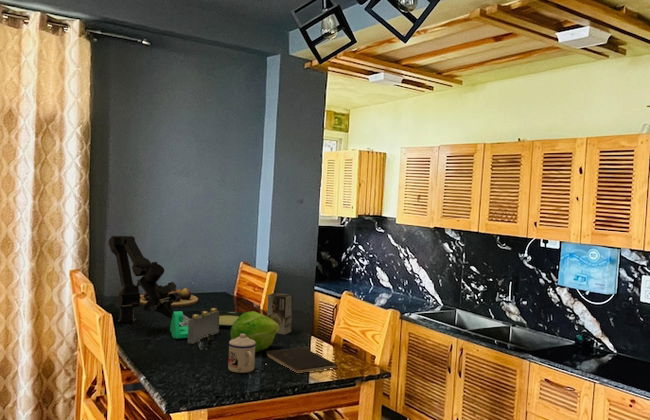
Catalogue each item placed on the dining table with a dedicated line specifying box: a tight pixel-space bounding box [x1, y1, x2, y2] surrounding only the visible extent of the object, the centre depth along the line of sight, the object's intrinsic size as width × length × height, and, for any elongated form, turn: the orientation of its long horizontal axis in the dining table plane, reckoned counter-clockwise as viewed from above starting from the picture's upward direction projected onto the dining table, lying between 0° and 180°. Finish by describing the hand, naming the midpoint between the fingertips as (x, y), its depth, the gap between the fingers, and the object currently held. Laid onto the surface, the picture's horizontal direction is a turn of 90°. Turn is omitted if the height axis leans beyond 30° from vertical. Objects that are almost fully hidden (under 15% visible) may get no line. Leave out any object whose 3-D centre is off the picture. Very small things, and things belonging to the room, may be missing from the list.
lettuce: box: [229, 310, 280, 353], centre depth 207 cm, size 15×20×14 cm
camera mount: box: [169, 310, 188, 339], centre depth 221 cm, size 12×8×10 cm, turn 26°
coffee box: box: [266, 292, 294, 335], centre depth 237 cm, size 9×6×16 cm
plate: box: [199, 310, 245, 328], centre depth 250 cm, size 28×28×2 cm
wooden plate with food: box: [139, 287, 199, 308], centre depth 289 cm, size 32×32×8 cm
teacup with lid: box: [227, 334, 256, 374], centre depth 182 cm, size 12×9×12 cm
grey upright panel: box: [187, 307, 220, 344], centre depth 221 cm, size 20×2×10 cm, turn 162°
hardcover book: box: [265, 346, 338, 374], centre depth 195 cm, size 16×23×2 cm
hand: (173, 318), depth 225 cm, fingers closed
